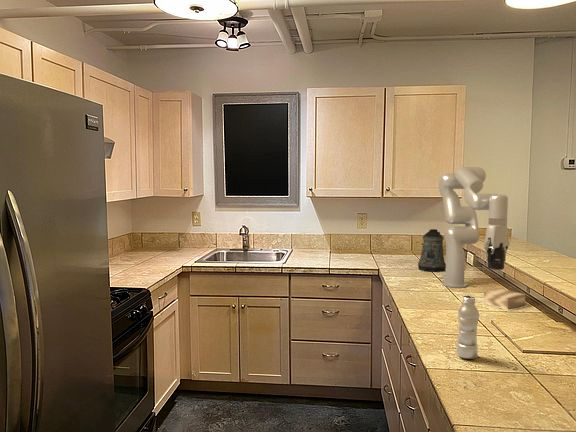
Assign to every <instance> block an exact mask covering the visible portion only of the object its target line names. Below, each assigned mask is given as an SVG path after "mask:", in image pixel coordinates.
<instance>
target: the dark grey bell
mask: <svg viewBox="0 0 576 432" xmlns="http://www.w3.org/2000/svg"><path fill="white" fill-rule="evenodd" d="M422 240H423V241H422V242H423V244H422V248H421V253H420V257H419V261H418V262H417V267H418V270H420V271H422V272H427V273H443V272H446V260H445V256H444V247H443V244H444V242H443V241H444V240H445V237H443V235H442V234H441V232H440V231H438V229H437V228H436V229H434V228H431V229H429V231H428V232H426V233H425V234H423V236H422Z"/></svg>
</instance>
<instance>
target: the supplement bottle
mask: <svg viewBox="0 0 576 432" xmlns="http://www.w3.org/2000/svg"><path fill="white" fill-rule="evenodd" d="M502 247H503V244H502V243H501V244H500V246H499V248H495V251H494V254H495V258H494V263H489V262H487V268H488V269H490V270H495V271H496V270H497V271H499V270H500V271H501V270H502V271H503V270H504V269H505V262H506V259H505V250H504V249H503V248H502ZM491 251H492V249H491Z"/></svg>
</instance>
